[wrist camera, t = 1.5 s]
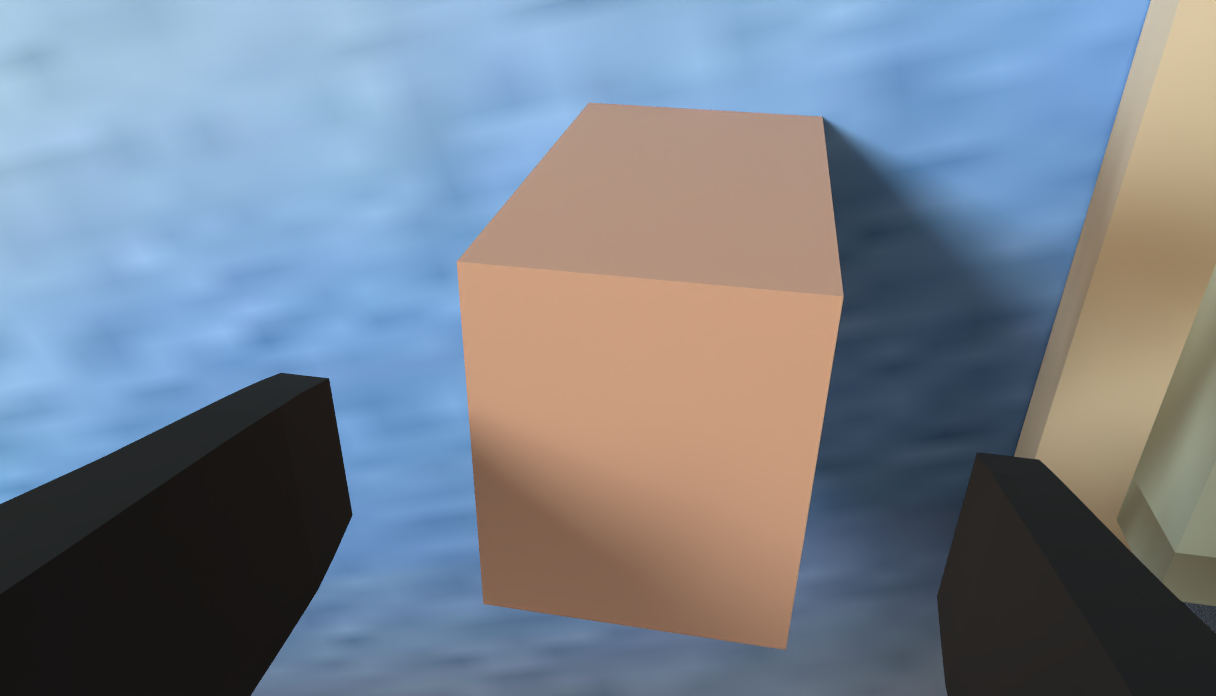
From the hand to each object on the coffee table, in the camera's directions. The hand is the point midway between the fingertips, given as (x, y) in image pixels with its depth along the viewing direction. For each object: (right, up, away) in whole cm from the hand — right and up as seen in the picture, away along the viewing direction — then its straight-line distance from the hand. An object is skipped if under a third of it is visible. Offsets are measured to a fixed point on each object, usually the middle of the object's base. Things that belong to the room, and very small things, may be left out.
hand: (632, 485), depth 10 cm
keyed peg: (+1, +3, +6) cm, 7 cm away
